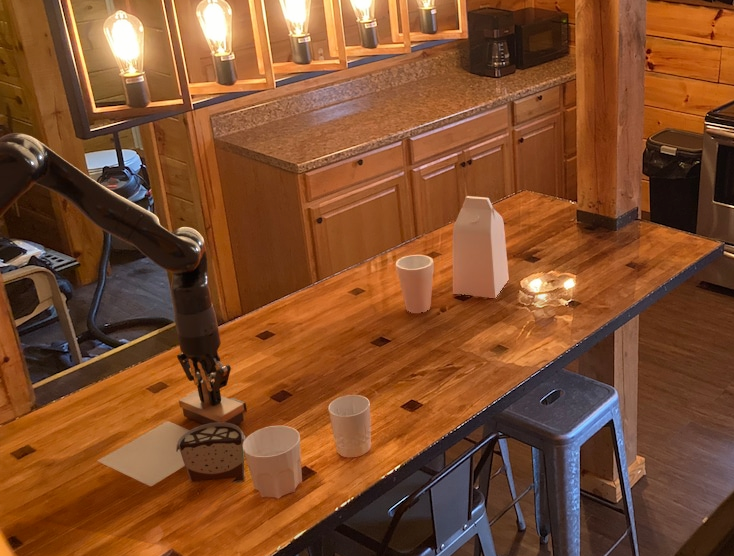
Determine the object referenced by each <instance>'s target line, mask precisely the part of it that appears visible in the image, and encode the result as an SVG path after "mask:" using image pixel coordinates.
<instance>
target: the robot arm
mask: <svg viewBox="0 0 734 556" xmlns="http://www.w3.org/2000/svg"><path fill="white" fill-rule="evenodd" d="M34 185H37V186H40V187H41V188H45V189H47V190H50V191H52V192H53V193H55V194H57V195H59V196H61V197H62V198H63V199H65V200H66V201H67V202H69V203H70V204H71V205H72V206H74V207H75V208H76V209H77V211H79V213H81V214H82V215H83V216H84V217H85V218H86V219H87V220H88V221H90V222H91V223H92V224H93V225H94V226H96V227H97V228H99V229H101V231H104V232H106V233H108V234H109V235H111V236H113V237H114V238H117V239H118V240H121V241H122V242H125V243H126V244H129V245H130V246H133V247H135V248H136V249H137V250H138V251H139V252H140V253H142V254H143V256H145V257H146V258H148V259H149V260H150V261H152V262H153V263H155V264H156V265H157V266H158V267H160V268H162V269H164V270H166V271H167V272H170V273H171V274H172V279H171V284H170V295H171V301H172V307H173V312H174V323H175V329H176V335H177V340H178V343H179V344H178V345H179V349H180V352H181V353H179V354H177V355H176V358H177V360H178V362H179V364H180V366H181V368H182V370H183V371H184V374H185V375H186V378H187V379H188V381H189V382H192V381H193V383H194V385H195V387H196V388H197V390H198V394H199V397H200V401H202V402H204V398H203V392H202V387H201V381H202V380H203V381H206V385H207V389H208V396H209V401H210V405H212V406H215V405H217V404H219V403H220V402H221V396H222V394H221V390H220V389H222V388H224V387H226V386H227V385H228V381H229V379H230V374H231V371H232V367H231V366H230V364H226V365H224V364H223V363H222V362H221V356H219V354H218V350H219V348H220V347H221V344H222V343H221V337H220V331H219V325H218V318H217V314H216V310H215V307H214V303H213V299H212V292H211V287H210V284H209V280H208V279H209V276H208V275H209V274H208V269H209V268H208V252H207V245H206V242H205V240H204V239H205V238H204V237H203V236H202V234H201V233H200V232H199V231H197V230H196V229H194V228H193V227H189V226H182V227H178V228H176V229H174V230H172V232H171V231H169V230H168V229H167V228H165V227H163V226H162V225H161V223H160V220H159V217H158V216H157V215H156V214H154V213H153V212H151V211H149V210H148V209H146V208H144V207H142V206H140V205H138V204H136V203H135V202H133V201H131V200H129V199H127V198H125V197H123V196H121V195H119V194H117V193H116V192H114V191H113V190H111V189H109V188H107V187H106V186H104V185H102V184H101V183H99V182H97V181H96V180H95V179H93V178H92V177H90V176H89V175H87V174H85V173H84V172H83V171H81V170H80V169H79V168H78V167H75V166H74V165H73V164H71V163H70V162H68V161H67V160H65V159H64V158H63V157H61V156H60V155H59V154H57V153H56V152H55V151H54V150H53V149H51V148H50V147H48V146H47V145H46V144H44V143H43V142H41V141H40V140H38V139H37V138H35V137H34V136H31V135H30V134H29V135H28V134H26V133H21V132H11V133H7V134H5V135H3V136H1V137H0V219H1V218H2V217H3V216H4V214H5V213H6V212H7V211H8V210H9V209H10V208H11V207H12V206H13V205H14V204H15V202H17V201H18V199H20V198H21V197H22V196H23V195H24V194H25V193H26V192H28V191H29V190H30V189H31V188H32V187H33V186H34ZM212 379H213V381H214V383H212V382H211V380H212Z"/></svg>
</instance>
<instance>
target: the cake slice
mask: <svg viewBox="0 0 734 556" xmlns="http://www.w3.org/2000/svg"><path fill="white" fill-rule="evenodd" d="M189 430H190V431H188V432H187V433H185V434H184V435H183V436H182V437H181V438H180V439H179V440H178V444H177V450H176V452H178V450H179V449H180V452H181V455H182V458H183V461H184V464H185V466H184V467H185V470H186V472H187V476H188V478H189V481H190V483H195V482H206V481H207V482H209V481H216V480H217V481H218V480H227V479H232V481H231V484H232V483H241V482H242V483H243V482H245V478H246V473H245V454H244V450H243V446H242V445H243V442H244V440H245V439H246V438H247V437H246V436H245V433H244V432H243V430H242V429H241V428H240V426H238V425H234V424H231V423H225V422H217V423H209V424H205V425H204V424H202V425H201V424H200V425H199V426H195V427H193V428H192V429H189Z"/></svg>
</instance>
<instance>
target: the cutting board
mask: <svg viewBox="0 0 734 556" xmlns="http://www.w3.org/2000/svg"><path fill="white" fill-rule="evenodd" d="M190 430H191V429H188V428H185V427H183V426H180V425H178V424H177V423H174V422H171V421H168V420H166V421H164V422H163V423H161V424H160V425H158V426H156V427H154V428H153V429H151V430H148V431H147V432H145V433H144V434H141V435H140V436H138V437H136V438H135V439H133V440H131V441H130V442H127V443H126V444H124V445H121V446H120V447H119V448H117V449H115V450H113V451H112V452H110V453H108V454H106V455H105V456H102V457H101V458H99V459H97V460H96V462H97V463H99V464H102V465H104V466H106V467H108V468H110V469H112V470H114V471H117V472H119V473H121V474H122V475H125V476H127V477H129V478H132V479H134V480H135V481H137V482H140V483H142V484H144V485H146V486H148V487H153V486H155V485H156V484H158V483H160V482H161V481H163V480H164V479H166V478H167V477H170V476H171V475H173V474H174V473H175V472H177V471H179V470H180V469H182V468H184V467H185V464H184V461H183V458H182V455H181V452H180V449H179V450H178V452H176V450H177V444H178V440H179V439H180V438H181V437H182V436H183V435H184V434H185V433H187V432H188V431H190Z"/></svg>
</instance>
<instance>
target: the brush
mask: <svg viewBox="0 0 734 556" xmlns="http://www.w3.org/2000/svg"><path fill="white" fill-rule="evenodd" d="M211 382H212V383H214V379H212V380H211ZM201 387H202V392H203V398H204V402H202V401H200V397H199V394H198V389H197V390H194V391H193V392H191V393H189V394H187V395H186V396H184V397H182V398H181V399H179V400H178V403H179V408H182V413H183V417H184V418H187V419H190V420H192V421H195V422H197V423H199V424H202V425H205V424H209V423H217V422H225V423H231V424H234V425H236V426H238V425H239V424H241V423H242V422H244V421H245V420H244V413H243V412H245V411H244V406H243V404H242V403H239V402H237V401H234V400H231V398H228V397H226V396H223V395H221V402H220V403H219V404H217V405H215V406H212V405H210V401H209V396H208V389H207V385H206V381H203V380H202V381H201Z"/></svg>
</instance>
